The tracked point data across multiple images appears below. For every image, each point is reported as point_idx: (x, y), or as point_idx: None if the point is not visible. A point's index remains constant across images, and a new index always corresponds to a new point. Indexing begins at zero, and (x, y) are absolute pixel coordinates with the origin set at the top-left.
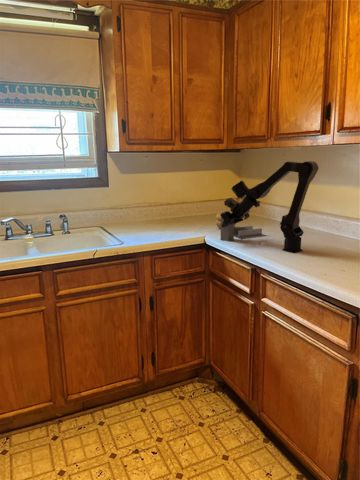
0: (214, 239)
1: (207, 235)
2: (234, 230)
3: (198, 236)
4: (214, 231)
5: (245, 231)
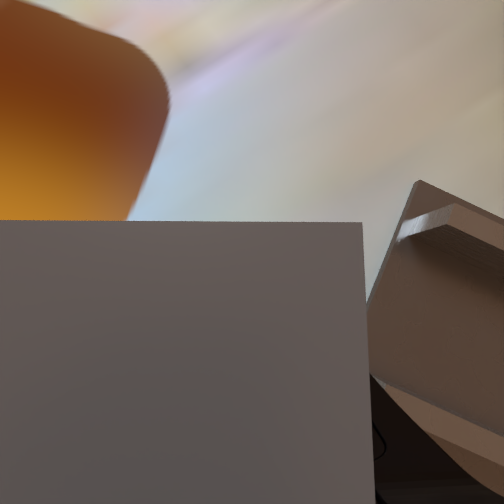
0: (138, 213)
1: (241, 67)
2: (471, 250)
3: (152, 21)
4: (423, 30)
5: (453, 441)
